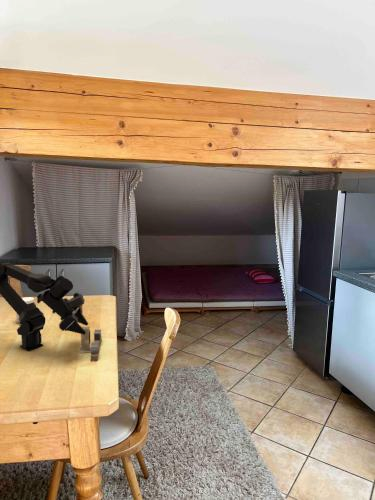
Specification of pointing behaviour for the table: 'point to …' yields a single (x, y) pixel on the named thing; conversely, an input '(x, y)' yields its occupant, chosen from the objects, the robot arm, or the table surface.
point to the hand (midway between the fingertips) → (86, 329)
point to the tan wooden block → (85, 339)
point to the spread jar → (30, 303)
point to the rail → (94, 346)
